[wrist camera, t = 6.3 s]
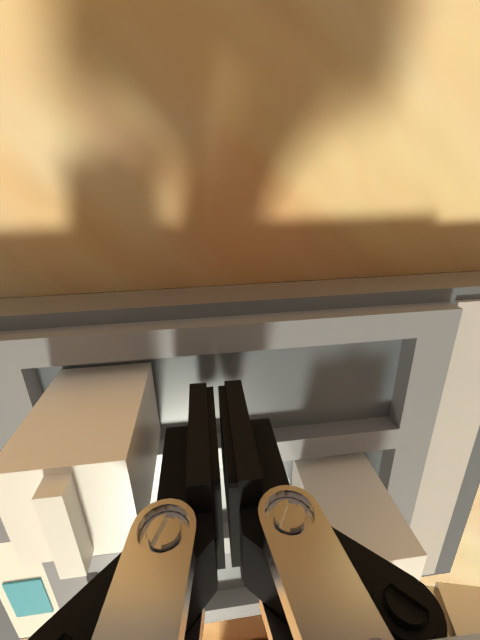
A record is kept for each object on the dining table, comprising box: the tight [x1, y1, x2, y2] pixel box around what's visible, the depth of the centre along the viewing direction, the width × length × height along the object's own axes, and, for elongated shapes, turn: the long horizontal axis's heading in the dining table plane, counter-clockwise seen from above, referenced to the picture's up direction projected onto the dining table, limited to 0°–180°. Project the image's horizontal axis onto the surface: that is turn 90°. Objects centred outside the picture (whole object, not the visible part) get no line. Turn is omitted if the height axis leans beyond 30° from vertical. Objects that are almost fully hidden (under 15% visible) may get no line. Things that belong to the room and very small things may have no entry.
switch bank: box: [0, 271, 480, 640], centre depth 15 cm, size 24×17×3 cm
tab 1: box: [0, 362, 161, 580], centre depth 10 cm, size 3×3×5 cm
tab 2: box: [292, 452, 427, 581], centre depth 12 cm, size 3×3×5 cm
